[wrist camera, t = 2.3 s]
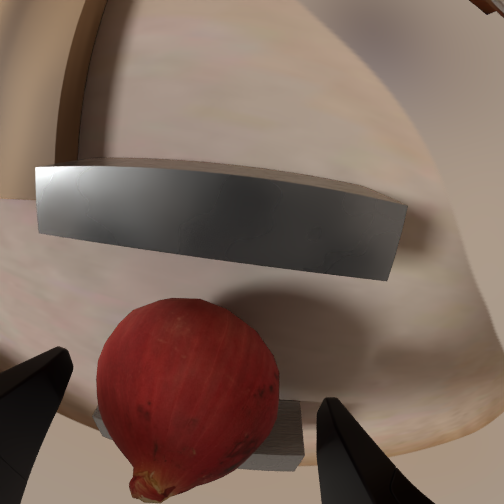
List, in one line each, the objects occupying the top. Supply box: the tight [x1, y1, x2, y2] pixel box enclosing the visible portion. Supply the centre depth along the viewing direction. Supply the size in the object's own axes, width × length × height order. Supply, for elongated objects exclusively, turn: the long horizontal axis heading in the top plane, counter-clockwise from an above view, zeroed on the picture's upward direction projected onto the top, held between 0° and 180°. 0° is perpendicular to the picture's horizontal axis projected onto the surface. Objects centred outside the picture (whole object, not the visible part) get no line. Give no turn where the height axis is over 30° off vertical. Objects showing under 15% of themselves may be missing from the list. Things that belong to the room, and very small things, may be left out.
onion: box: [96, 298, 279, 503], centre depth 8 cm, size 6×6×8 cm
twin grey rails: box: [36, 158, 408, 471], centre depth 10 cm, size 10×13×4 cm
